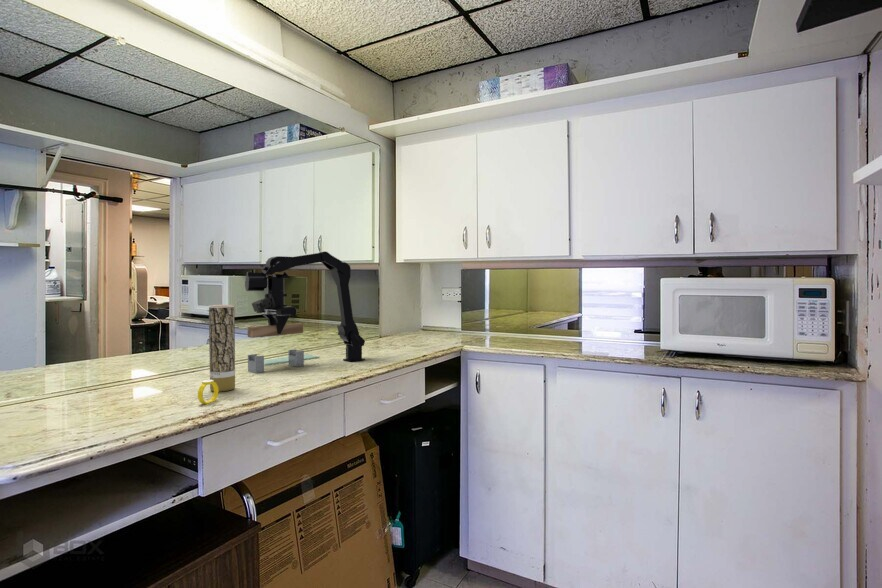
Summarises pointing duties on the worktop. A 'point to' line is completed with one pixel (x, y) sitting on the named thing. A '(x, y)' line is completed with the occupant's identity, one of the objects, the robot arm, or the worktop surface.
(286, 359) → the mat
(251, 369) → the post
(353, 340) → the robot arm
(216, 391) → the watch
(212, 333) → the brown tall cylinder
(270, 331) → the rail
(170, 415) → the worktop surface
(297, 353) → the post
